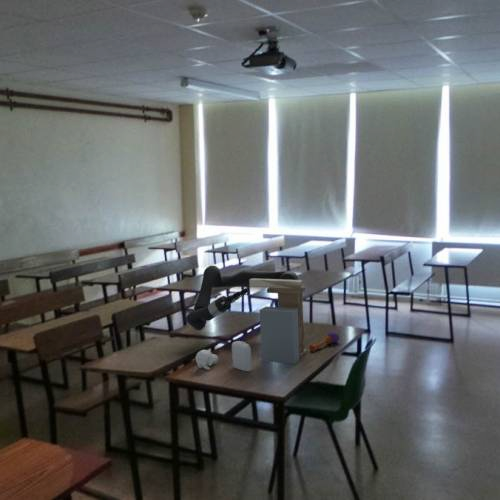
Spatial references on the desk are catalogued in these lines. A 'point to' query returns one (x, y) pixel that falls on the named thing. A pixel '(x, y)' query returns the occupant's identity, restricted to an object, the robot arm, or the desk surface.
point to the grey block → (279, 334)
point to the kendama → (326, 341)
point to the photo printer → (241, 356)
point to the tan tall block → (292, 300)
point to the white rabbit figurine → (205, 359)
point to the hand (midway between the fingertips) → (243, 291)
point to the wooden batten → (276, 283)
